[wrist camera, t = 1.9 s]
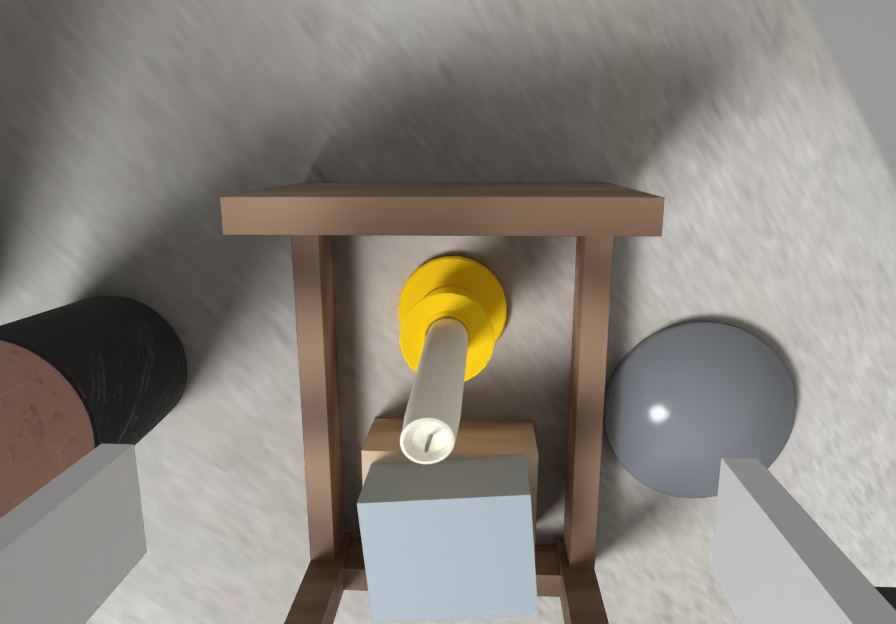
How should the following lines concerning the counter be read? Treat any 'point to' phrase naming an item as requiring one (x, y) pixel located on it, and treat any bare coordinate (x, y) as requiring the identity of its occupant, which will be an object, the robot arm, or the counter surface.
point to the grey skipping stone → (697, 406)
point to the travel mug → (81, 387)
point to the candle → (445, 347)
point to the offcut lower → (461, 446)
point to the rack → (446, 214)
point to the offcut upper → (448, 539)
